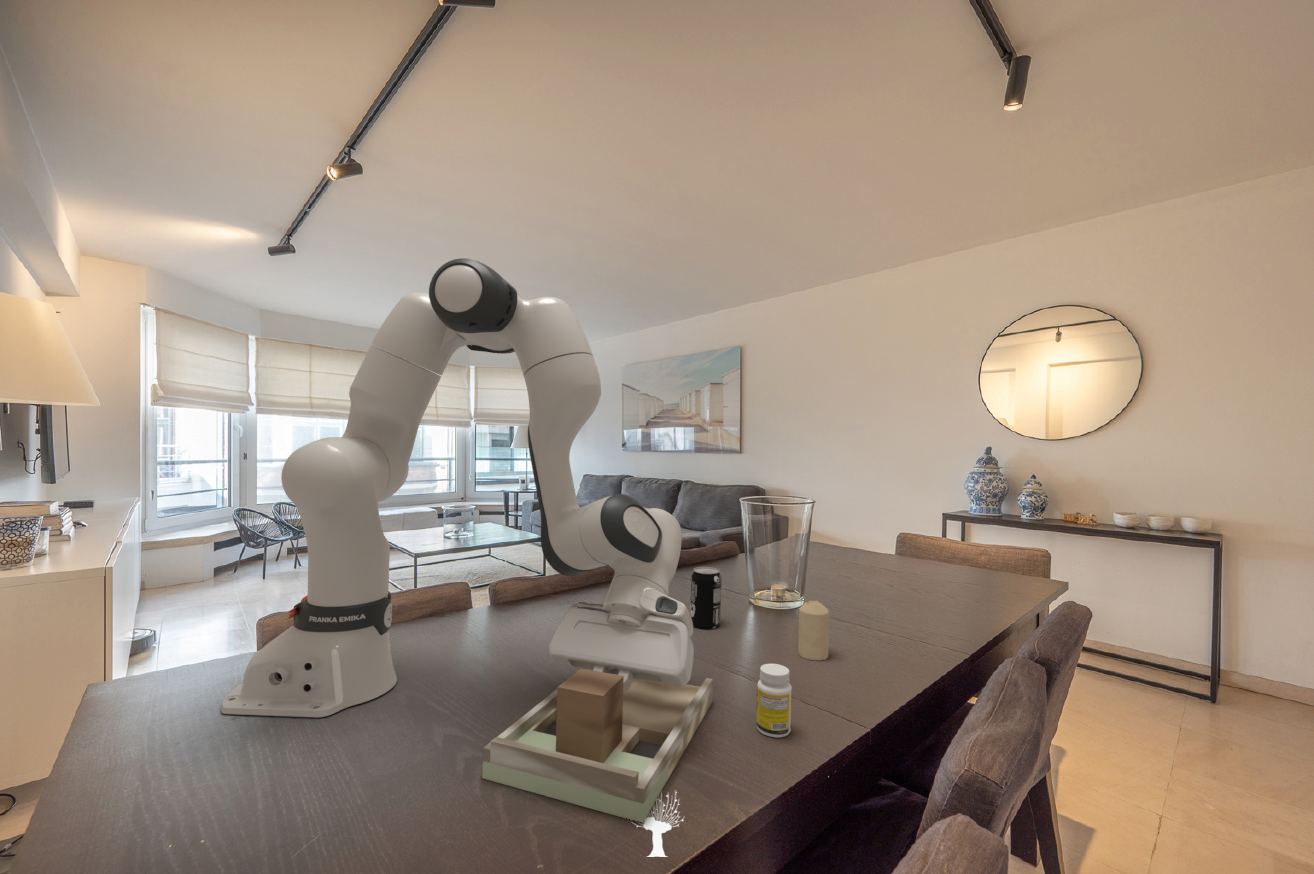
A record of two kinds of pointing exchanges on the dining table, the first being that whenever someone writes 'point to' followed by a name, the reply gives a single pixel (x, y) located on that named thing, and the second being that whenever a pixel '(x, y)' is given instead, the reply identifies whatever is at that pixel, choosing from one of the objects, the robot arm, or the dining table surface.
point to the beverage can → (706, 597)
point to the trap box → (649, 729)
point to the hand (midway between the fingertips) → (603, 706)
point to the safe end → (576, 793)
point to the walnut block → (589, 714)
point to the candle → (813, 631)
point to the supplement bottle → (774, 701)
